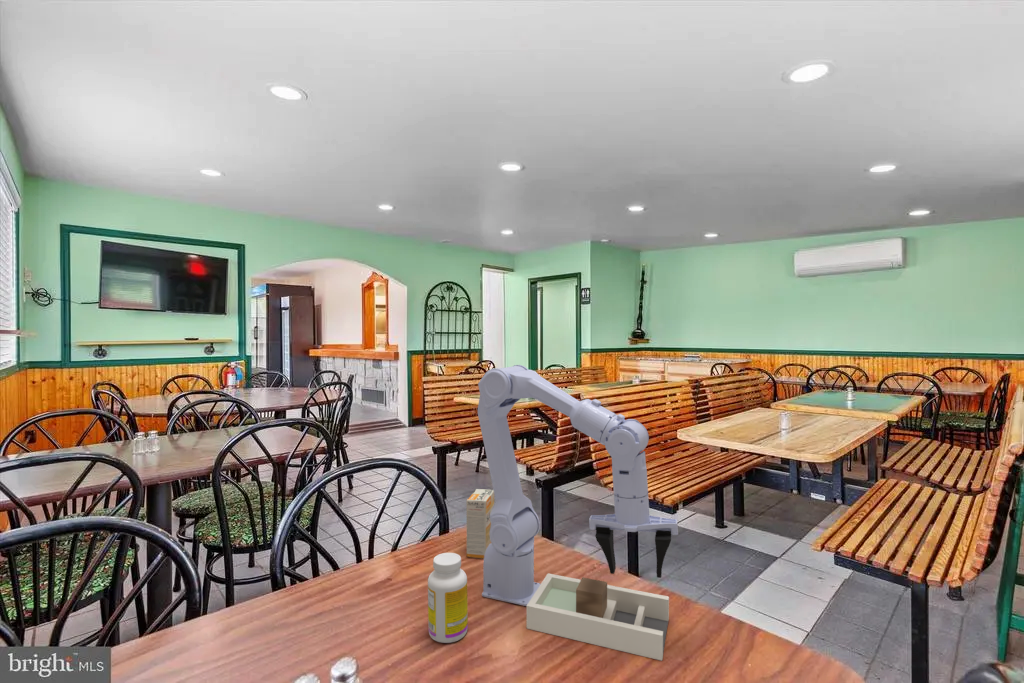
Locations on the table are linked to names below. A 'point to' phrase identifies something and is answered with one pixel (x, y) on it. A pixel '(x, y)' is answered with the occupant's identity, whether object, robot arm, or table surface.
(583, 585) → the walnut block
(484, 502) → the supplement box
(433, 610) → the supplement bottle
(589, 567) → the table surface
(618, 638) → the track
